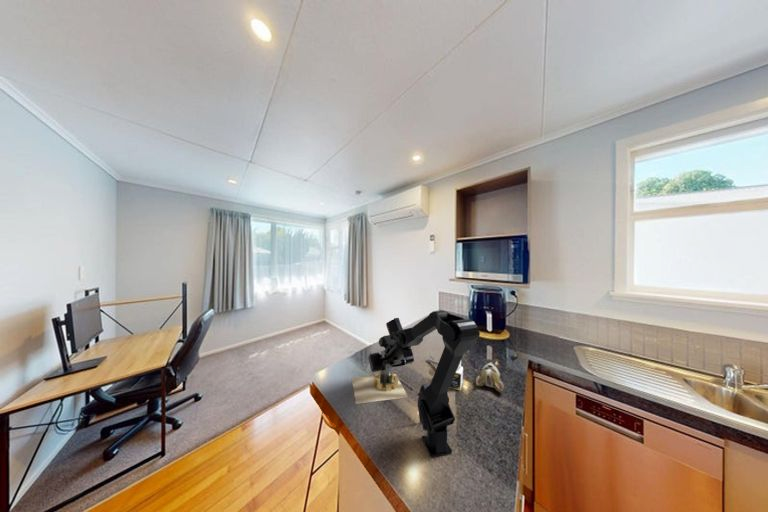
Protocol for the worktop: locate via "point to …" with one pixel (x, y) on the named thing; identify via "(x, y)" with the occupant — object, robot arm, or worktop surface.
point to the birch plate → (375, 390)
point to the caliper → (433, 361)
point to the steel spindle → (386, 372)
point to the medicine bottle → (457, 378)
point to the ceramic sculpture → (490, 377)
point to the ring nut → (387, 385)
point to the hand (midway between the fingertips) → (384, 367)
